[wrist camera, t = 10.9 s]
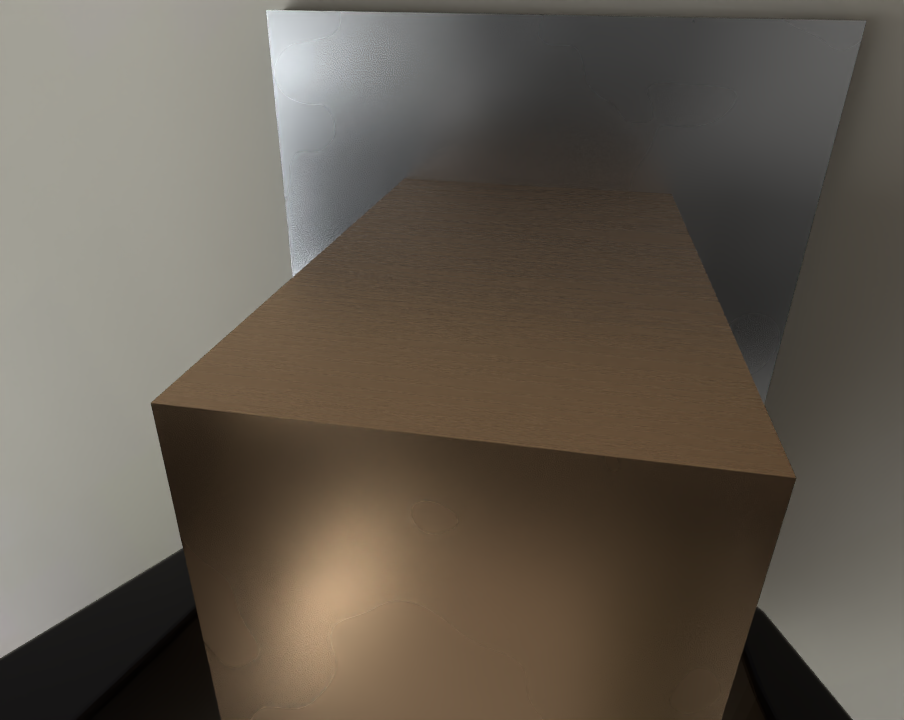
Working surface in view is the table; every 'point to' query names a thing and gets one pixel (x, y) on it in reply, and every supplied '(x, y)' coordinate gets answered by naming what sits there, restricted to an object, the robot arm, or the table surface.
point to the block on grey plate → (508, 367)
